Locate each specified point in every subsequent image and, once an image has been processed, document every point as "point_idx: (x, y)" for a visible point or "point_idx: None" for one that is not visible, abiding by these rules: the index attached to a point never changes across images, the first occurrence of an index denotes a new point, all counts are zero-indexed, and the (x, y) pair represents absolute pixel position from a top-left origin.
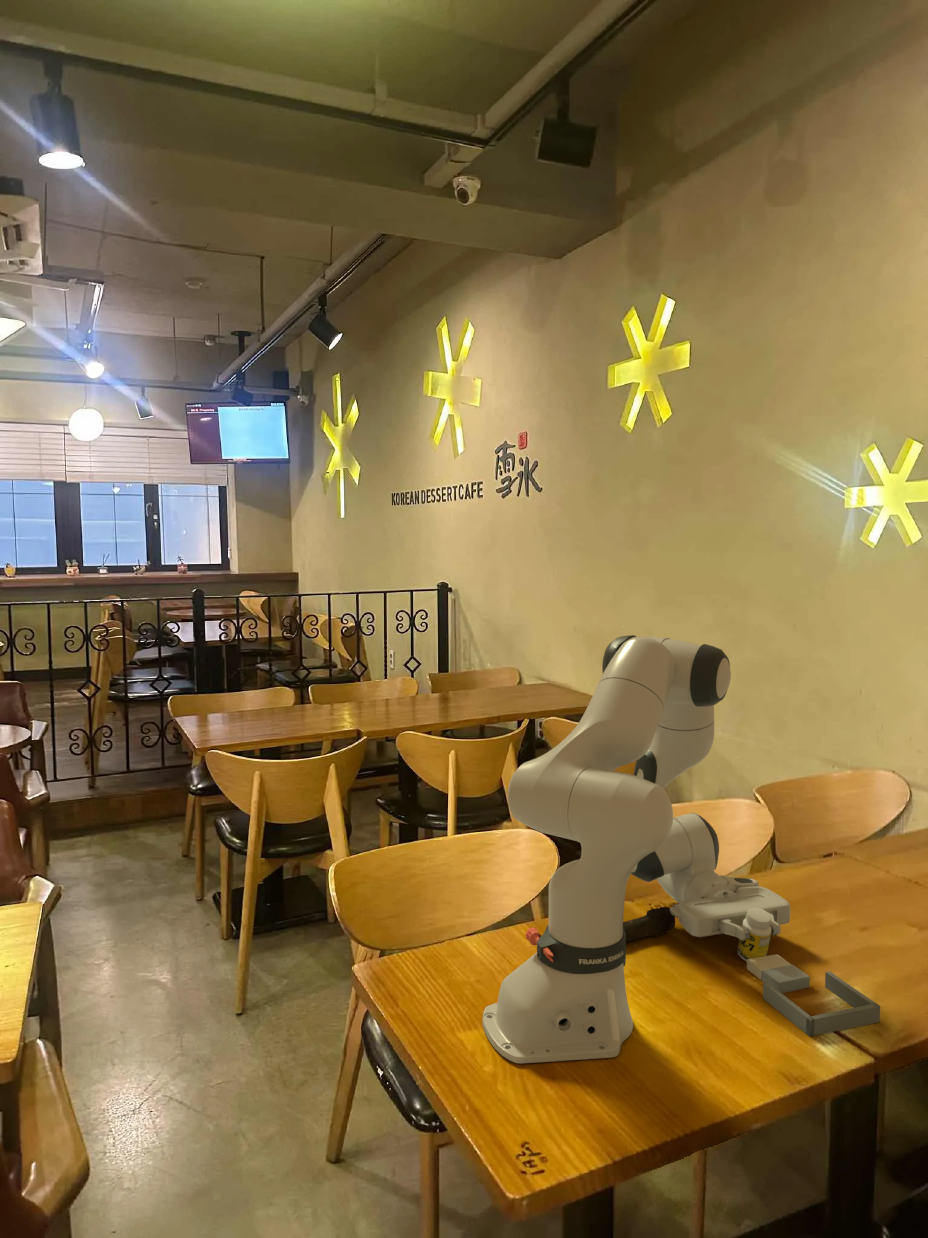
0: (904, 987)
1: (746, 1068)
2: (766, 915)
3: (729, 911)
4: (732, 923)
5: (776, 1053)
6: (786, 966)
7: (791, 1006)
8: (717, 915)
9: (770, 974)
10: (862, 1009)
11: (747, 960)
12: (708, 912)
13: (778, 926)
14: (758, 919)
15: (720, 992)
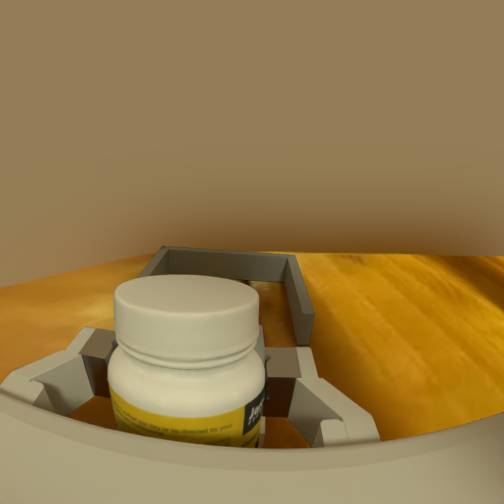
0: (32, 288)
1: (398, 272)
2: (151, 281)
3: (295, 471)
4: (327, 400)
5: (355, 275)
6: None
7: (300, 273)
8: (421, 434)
9: (258, 347)
10: (194, 248)
11: (264, 432)
12: (477, 466)
13: (97, 328)
14: (224, 281)
15: (396, 378)
